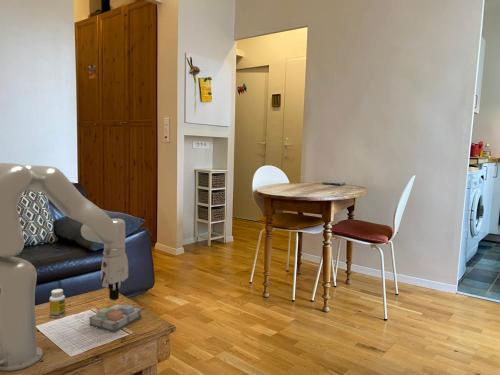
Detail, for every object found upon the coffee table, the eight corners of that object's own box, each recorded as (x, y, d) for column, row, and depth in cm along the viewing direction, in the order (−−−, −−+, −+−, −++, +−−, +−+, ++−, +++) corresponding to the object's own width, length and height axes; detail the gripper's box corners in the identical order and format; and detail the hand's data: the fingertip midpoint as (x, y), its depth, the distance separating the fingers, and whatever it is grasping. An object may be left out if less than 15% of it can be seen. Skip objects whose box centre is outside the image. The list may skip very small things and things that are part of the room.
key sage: (104, 319, 142) (104, 312, 141) (97, 317, 143) (97, 310, 143) (111, 315, 145) (111, 309, 144) (104, 314, 146) (104, 307, 146)
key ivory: (116, 316, 147) (116, 309, 147) (109, 314, 149) (109, 308, 148) (123, 312, 150) (122, 306, 150) (116, 311, 152) (116, 304, 151)
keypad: (114, 333, 137) (114, 324, 137) (89, 325, 142) (89, 317, 142) (141, 317, 150) (141, 309, 149) (117, 311, 155) (117, 303, 154)
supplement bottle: (61, 318, 148) (60, 293, 147) (47, 318, 148) (46, 293, 147) (68, 312, 153) (67, 288, 152) (54, 312, 153) (53, 288, 152)
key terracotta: (115, 322, 139) (115, 315, 139) (108, 320, 141) (108, 313, 141) (122, 318, 142) (122, 312, 142) (115, 317, 144) (115, 310, 144)
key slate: (127, 316, 145) (127, 309, 145) (120, 314, 146) (120, 307, 146) (133, 312, 148) (133, 306, 148) (127, 311, 149) (126, 304, 149)
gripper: (107, 257, 138) (106, 307, 140) (136, 249, 152) (135, 295, 153) (91, 254, 142) (91, 303, 143) (121, 246, 155) (120, 291, 156)
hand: (113, 298), depth 148 cm, fingers closed
